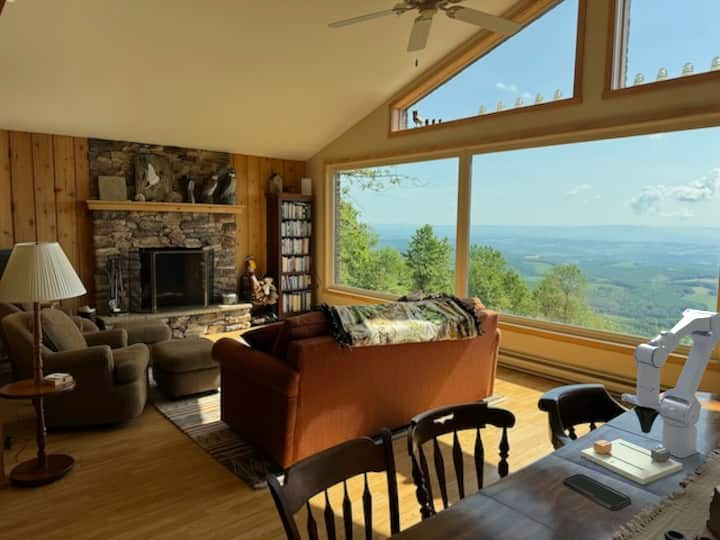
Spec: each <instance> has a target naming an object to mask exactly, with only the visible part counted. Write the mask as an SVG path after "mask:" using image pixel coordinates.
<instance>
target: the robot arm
mask: <svg viewBox="0 0 720 540" xmlns="http://www.w3.org/2000/svg"><path fill="white" fill-rule="evenodd" d="M687 336H688V337H689V338H690V339H691V340H692V341H693V344H692V347H691V349H690V350H689V354H688V355H687V358H686V361H685V363H684V365H683V368H682V370H681V373H680V375H679V377H678V380H677V382H676V385H675V387H674V388H671V389H668V390H665V391H664V393H663V394H662V396H661V397H660V390H661V389H660V388H661V372H662V371H661V370H662V367H663V366H664V365H665V363H666V362H667V359H668V358H669V355H670V354H671V353H673V351H675V350H676V349H677V348H678V347H679V346H680V341H681V340H683V339H684V338H685V337H687ZM718 343H720V312H714V311H706V310H700V309H693V308H687V309H685V310H684V311H683V312H682V313H681V316H680V320H679V322H677V323H676V325H674V326H673V327H672V328H671V329H670V330H662V331H660V332H659V333H658V334H657V335H656V336H655V337H654V338H652V339H651V340H649V341H648V342H647V343H641V344H639V345H637V346H636V348H635V349H634V352H633V354H632V355H633V360H634V361H635V368H636V369H637V373H636V374H637V378H636V393H635V394H636V395H635V394H629V393H623V394H621V401H622V402H627V403H630V404H633V405H636V406H634V407H633V411H634V414H636V417H637V419H638V421H639V426H640V429H641V433H644V434H650V433H651V430H652V428H653V424H654V423H655V420H656V419H657V418H658V416H660V420H661V421H662V437H661V438H662V440H661V444H659V445H656V446H654V449H655V448H658V447H661V448H665V449H666V450H669V451H670V456H671V455H672V456H673V457H677V458H679V459H685V458H687V457H689V456H692V455H695V454H697V453H700V450H699V449H698V448H697V442H698V441H697V439H698V429H697V427H696V424H697V423H698V422H699V419H700V416H701V415H700V413H701V409H702V404H701V402H700V401H699V399H698V398H697V396H696V392H697V390H698V388H699V386H700V383H701V381H702V377H703V376H704V373H705V371H706V368H707V366H708V363H709V361H710V358H711V356H712V354H713V351H714V348H715V346H716V344H718Z"/></svg>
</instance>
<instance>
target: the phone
mask: <svg viewBox="0 0 720 540" xmlns="http://www.w3.org/2000/svg"><path fill="white" fill-rule="evenodd" d="M562 484H564V485H565V486H567V487H568V488H571V489H572V490H574V491H576V492H578V493H580V494H582V495H583V496H585V497H587V498H589V499H590V500H593V501H595V502H596V503H598V504H599V505H602V506H604V507H606V508H608V509H609V510H618V509H620V508H622V507H624V506H626V505H629V504H631V503H632V499H631V497H630V496H628V495H626V494H624V493H622V492H620V491H618V490H617V489H614V488H612V487H610V486H608V485H606V484H604V483H602V482H599V481H598V480H596V479H594V478H591V477H589V476H587V475H586V474H583V473H576V474H574V475H571V476H568V477H565V478H563V479H562Z"/></svg>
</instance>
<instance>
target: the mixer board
mask: <svg viewBox="0 0 720 540" xmlns="http://www.w3.org/2000/svg"><path fill="white" fill-rule="evenodd" d="M609 442H610V443H612V449H611V451H610V452H607V453H604V454H601V453H599V452H597V451H594V450H593V448H594V446H592V447H589V448H585V449H583V450H580V457H582V456H583V458H584V457H585V459H587V460H588V461H589V460H590V461H591V460H592V461H591V462H593V461H594V463H595V462H596V464H597V465H600V466H601V465H602V467H603V468H606V469H608V470H610V471H612V472H615V473H616V474H618V475H620V476H624V477H625V478H628V479H629V480H632V481H634V482H635V483H639V484H640V485H645V484H648V483H650V482H652V481H656V480H658V479H660V478H664V477H666V476H669V475H671V474H673V473H675V472H676V473H677V472H678V471H681V470H683V463H680V461H679V462H678V461H676V460H673V459H671V458H670V459H669V460H666V461H663V462H660V461H657V460H655V459H652V458H651V450H649V449H646V448H644V447H641V446H638V445H636V444H633V443H631V442H629V441H626V440H624V439H621V438H617V439H615V440H611V441H609Z"/></svg>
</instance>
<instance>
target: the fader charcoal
mask: <svg viewBox="0 0 720 540" xmlns="http://www.w3.org/2000/svg"><path fill="white" fill-rule="evenodd" d="M650 451H651V458H652V459H655V460H657V461H660V462H663V461H666V460H669V459H671V458H670V457H671V454H670V451H669V450H666V449H665V448H661V447H658V448H655V447H654V448H652V449H651V450H650Z"/></svg>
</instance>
